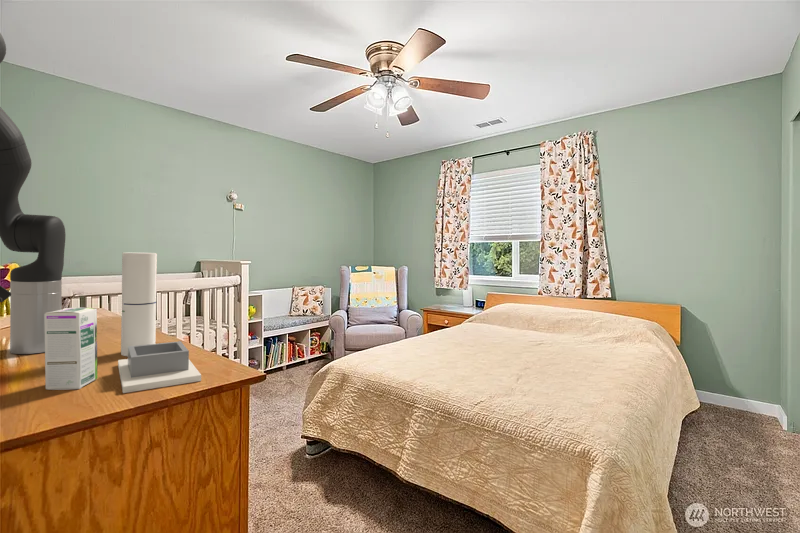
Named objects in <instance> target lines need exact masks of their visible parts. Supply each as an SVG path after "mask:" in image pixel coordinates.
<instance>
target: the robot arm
mask: <svg viewBox="0 0 800 533" xmlns="http://www.w3.org/2000/svg"><path fill="white" fill-rule="evenodd" d="M6 54H7V45H6V42H5V39H4V37H3V35H2V33H1V32H0V64H1V63H2V62H3V61H4V59H5V57H6ZM32 163H33V162H32V159H31V155H30V153H29V149H28V147H27V144H26V141H25V138H24V136H23V134H22V132H21V131H20V129H19V128H18V126H17V125H16V123H15V122H14V121H13V120H12V118H10V116H9V115H8V114H7V113H6V112H5V110H3V108H2V107H1V106H0V240H1V242H2V243H3V245H4V246H5V248H6V249H8V250H10V251H12V252H16V253H17V252H18V253H37V254H38V255H37V258H36V259H35V260H34V261H32V262H31V263H28V264H26V265H23V266H18V267H14V268H13V269H11V270H10V275H9V276H10V278H9V280H10V282H9V285H10V286H9V287H10V288H9V290H8V289H6V288H5V287H3V286H2V285H0V303H3V302H5V301H6V300H7V299H9V298H10V301H9V303H10V305H9V306H10V309H9V310H10V315H9V316H10V317H9V318H10V322H9V323H10V325H9V326H10V330H9V332H10V333H9V334H10V335H9V339H10V340H9V353H11V354H14V355H15V354H16V355H29V354H40V353H45V318H44V314H45V313H48V312H53V311H57V310H62V309H63V308H62V306H63V304H62V301H63V300H62V298H63V297H62V294H63V293H62V290H63V289H62V287H63V286H62V285H63V282H62V280H63V279H62V278H63V277H62V276H63V270H64V266H65V265H64V264H65V249H66V248H65V246H66V228H65V224H64V222H63V221H62V219H61V218H59V217H58V216H55V215H46V214H45V215H44V214H27V213H26V214H25V213H24V211H23V210H22V209H21V205H20V202H19V194H20V191H21V190H22V189H21V188H22V187H23V186H24V183H25V182H26V180H27V179H28V177H29V174H30V171H31V168H32Z"/></svg>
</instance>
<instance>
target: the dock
mask: <svg viewBox="0 0 800 533" xmlns="http://www.w3.org/2000/svg"><path fill="white" fill-rule="evenodd" d="M117 367H118V373H119V379H120V386H121V391H122V394H126V393H133V392H139V391H145V390H146V391H147V390H151V389H159V388H165V387H171V386H177V385H183V384H189V383H190V384H191V383H195V382H196V383H197V382H201V381H202V374H201V372H200V371H199V370H198V369H197V367H196V366H195V365H194V363H193V362H192V361H191V360H190V351H189V349H188V348H187V347H186V345H185V344H184V343H183V342H182V341H180V340H179V341H171V342H170V341H169V342H160V343H155V344H147V345H137V346H128V356H127V359H126V358H124V359H118V360H117Z"/></svg>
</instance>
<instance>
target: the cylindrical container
mask: <svg viewBox="0 0 800 533" xmlns="http://www.w3.org/2000/svg"><path fill="white" fill-rule="evenodd" d="M121 257H122V258H121V261H122V262H121V267H122V268H121V316H120V317H121V320H120V321H121V328H120V329H121V330H120V332H121V334H120V337H121V338H120V354H121V355H120V356H123V357H128V346H137V345H147V344H156V334H157V333H156V332H157V330H156V329H157V328H156V326H157V324H156V321H157V319H156V318H157V277H158V276H157V275H158V274H157V270H158V268H157V266H158V261H157V260H158V253H156V252H134V251H133V252H122V254H121Z"/></svg>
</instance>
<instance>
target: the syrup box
mask: <svg viewBox="0 0 800 533" xmlns="http://www.w3.org/2000/svg"><path fill="white" fill-rule="evenodd" d="M97 310H98V309H97V308H95V307H86V306H85V307H82V306H80V307H78V306H77V307H65V308H62V309H61V310H57V311H53V312H48V313H45V314H44V318H45V352H44V366H45V368H44V372H45V373H44V374H45V379H44V380H45V383H44V384H45V390H50V391H51V390H52V391H55V390H58V391H60V390H61V391H62V390H63V391H65V390H66V391H69V390H80V389H82V388H83V387H84V386H87V385H88V384H90V383H92V382H94V381H97V380H98V319H97V318H98V315H97V314H98V311H97Z"/></svg>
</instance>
